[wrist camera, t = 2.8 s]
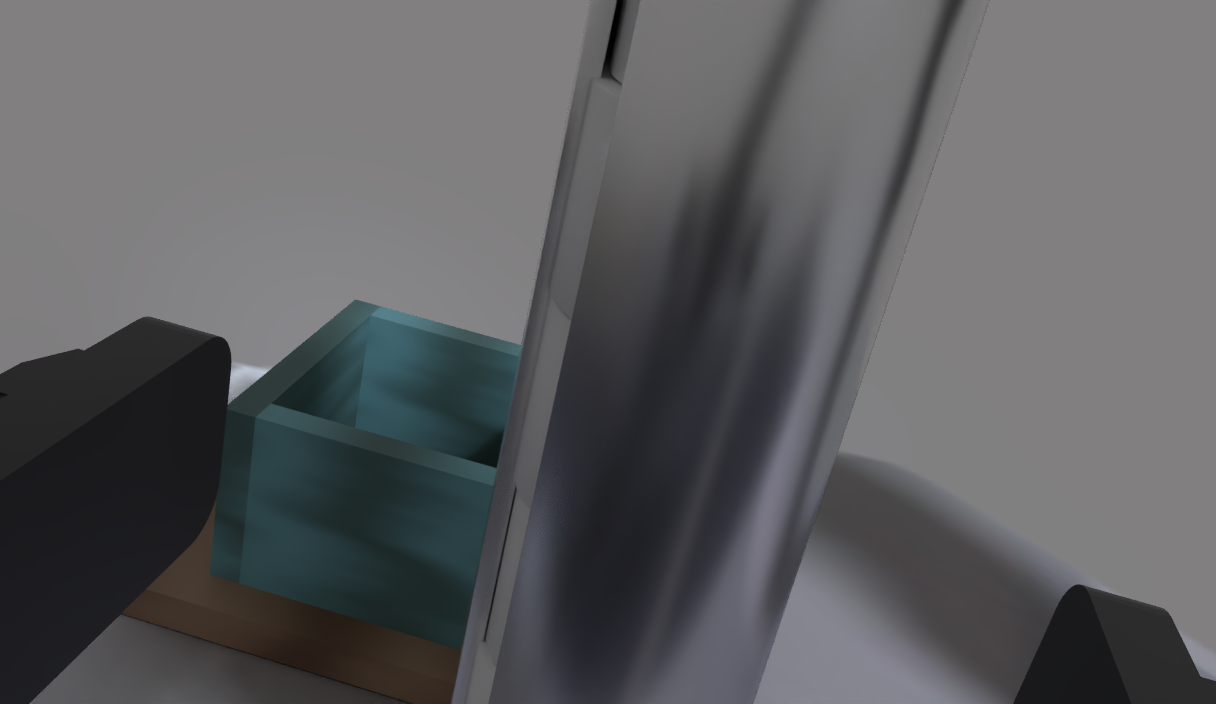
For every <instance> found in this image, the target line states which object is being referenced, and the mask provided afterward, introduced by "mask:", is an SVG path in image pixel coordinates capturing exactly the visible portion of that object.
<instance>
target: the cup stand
mask: <svg viewBox="0 0 1216 704" xmlns="http://www.w3.org/2000/svg"><path fill="white" fill-rule="evenodd" d="M520 348H521V345H518V344H514V343H511V342H507V341H503V340H500V339H496V338H492V337H489V336H485V335H482V334H478V333H475V332H471V331H467V330H463V329H460V328H456V327H453V326H449V325H445V324H442V323H438V322H435V321H431V320H427V319H424V318H420V317H417V316H413V315H409V314H406V313H402V312H399V311H395V310H391V309H387V308H384V307H380V306H377V305H373V304H370V303H366V302H362V301H359V300H354V301H353V302H352V303H351V304H349V305H348V306H347V307H346V308H345V309H344V310H342V311H341V312H340V313H339V314H337V315H336V316H335V317H334V318H333V319H332V320H330V321H329V322H328V323H326V324H325V325H324V326H323V327H322V328H320V329H319V330H318V331H317V332H316V333H314V334H313V335H312V336H311V337H310V338H308V339H307V340H306V341H305V342H303V343H302V344H301V345H300V346H299V347H297V348H296V349H295V350H294V351H293V352H291V353H290V354H289V355H288V356H287V357H285V358H284V359H283V360H282V361H281V362H279V363H278V364H277V365H276V366H274V367H273V368H272V369H271V370H270V371H268V372H267V373H266V374H265V375H264V376H262V377H261V378H260V379H259V380H257V381H256V382H255V383H254V384H253V385H251V386H250V387H249V388H248V389H247V390H245V391H244V392H243V393H242V394H240V395H239V396H238V397H237V398H236V399H234V400H233V401H232V402H231V403H230V404H228V405H227V414H226V424H225V434H224V444H223V454H222V464H221V474H220V483H219V488H218V493H217V497H216V500H215V503H214V506H213V509H212V511H211V514H210V516H209V518H208V520H207V522H206V524H205V526H204V528H203V530H202V531H201V533H200V534H199V536H198V537H197V539H196V540H195V541H194V542H193V543H192V544H191V546H190V547H189V548H188V549H187V550H186V551H184V552H183V553H182V554H181V555H180V556H179V557H178V558H177V559H176V560H175V561H174V562H173V563H172V564H171V565H170V566H169V567H168V568H167V569H166V570H165V571H164V572H163V573H162V574H161V575H160V576H159V577H158V578H157V579H156V580H155V581H154V582H153V583H152V584H151V585H150V586H149V587H148V588H147V589H146V590H145V591H144V592H143V593H142V594H141V595H140V596H139V597H137V598H136V599H135V600H134V601H133V602H132V603H131V604H130V605H129V606H128V607H127V608H126V609H125V610H124V611H123V612H122V613H121V614H124V615H127V616H131V617H134V618H137V619H140V620H144V621H147V622H150V623H153V624H156V625H160V626H163V627H166V628H169V629H173V630H176V631H179V632H182V633H186V634H189V635H192V636H195V637H199V638H202V639H205V640H208V641H212V642H215V643H218V644H221V645H224V646H228V647H231V648H234V649H237V650H241V651H244V652H247V653H250V654H254V655H257V656H260V657H263V658H267V659H270V660H273V661H276V662H280V663H283V664H286V665H289V666H293V667H296V668H299V669H302V670H305V671H309V672H312V673H315V674H318V675H322V676H325V677H328V678H331V679H335V680H338V681H341V682H344V683H348V684H351V685H354V686H357V687H361V688H364V689H367V690H370V691H373V692H377V693H380V694H383V695H386V696H390V697H393V698H396V699H399V700H403V701H406V702H409V703H412V704H450V700H451V695H452V690H453V685H454V680H455V675H456V670H457V665H458V660H459V655H460V650H461V645H462V640H463V635H464V630H465V624H466V619H467V614H468V609H469V604H470V599H471V594H472V589H473V584H474V579H475V574H476V569H477V564H478V559H479V554H480V549H481V544H482V539H483V534H484V529H485V524H486V519H487V514H488V509H489V504H490V499H491V494H492V489H493V484H494V479H495V474H496V469H497V464H498V459H499V454H500V449H501V444H502V439H503V434H504V429H505V424H506V419H507V414H508V408H509V403H510V398H511V393H512V388H513V383H514V378H515V373H516V368H517V363H518V358H519V353H520Z"/></svg>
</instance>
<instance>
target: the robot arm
mask: <svg viewBox="0 0 1216 704" xmlns="http://www.w3.org/2000/svg"><path fill="white" fill-rule="evenodd" d="M230 374H231V352H230V348H229V345H228V343H227V341H226V340H225V339H224V338H222V337H219V336H215V335H212V334H209V333H205V332H201V331H198V330H195V329H191V328H188V327H184V326H180V325H177V324H174V323H170V322H167V321H163V320H160V319H156V318H153V317H143V318H141V319H138V320H136V321H135V322H133V323H131V324H129V325H128V326H126V327H124V328H123V329H121V330H119V331H118V332H116V333H114V334H112V335H110V336H109V337H107V338H105V339H104V340H102V341H100V342H98V343H97V344H95V345H93V346H92V347H90V348H88V349H86V350H80V349H75V350H71V351H67V352H63V353H59V354H55V355H51V356H47V357H43V358H39V359H35V360H31V361H27V362H22V363H20V364H19V365H16V366H15V367H13V368H11V369H9V370H7V371H6V372H4V373H2V374H0V704H29V703H30V702H31V701H32V700H33V699H34V698H35V697H36V696H37V695H38V694H39V693H40V692H41V691H42V690H43V689H44V688H46V687H47V686H48V685H49V684H50V683H51V682H52V681H53V680H54V679H55V678H56V677H57V676H58V675H59V674H60V673H61V672H62V671H63V670H64V669H65V668H66V667H67V666H68V665H69V664H70V663H71V662H72V661H73V660H74V659H75V658H76V657H77V656H78V655H79V654H80V653H81V652H82V651H83V650H84V649H85V648H86V647H87V646H88V645H89V644H90V643H91V642H93V641H94V640H95V639H96V638H97V637H98V636H99V635H100V634H101V633H102V632H103V631H104V630H105V629H106V628H107V627H108V626H109V625H110V624H111V623H112V622H113V621H114V620H115V619H116V618H117V617H118V616H119V615H120V614H121V613H122V612H123V611H124V610H125V609H126V608H127V607H128V606H129V605H130V604H131V603H132V602H133V601H134V600H135V599H136V598H137V597H139V596H140V595H141V594H142V593H143V592H144V591H145V590H146V589H147V588H148V587H149V586H150V585H151V584H152V583H153V582H154V581H155V580H156V579H157V578H158V577H159V576H160V575H161V574H162V573H163V572H164V571H165V570H166V569H167V568H168V567H169V566H170V565H171V564H172V563H173V562H174V561H175V560H176V559H177V558H178V557H179V556H180V555H181V554H182V553H183V552H184V551H186V550H187V549H188V548H189V547H190V546H191V544H192V543H193V542H194V541H195V540H196V539H197V537H198V536H199V534H200V533H201V531H202V530H203V528H204V526H205V524H206V522H207V520H208V518H209V516H210V514H211V511H212V509H213V506H214V503H215V500H216V497H217V493H218V488H219V483H220V474H221V464H222V454H223V444H224V434H225V424H226V414H227V404H228V394H229V384H230ZM1013 704H1216V681H1213V680H1210V679H1206V678H1203V677H1200V675H1199V673H1198V671H1197V669H1196V667H1195V665H1194V662H1193V660H1192V658H1191V656H1190V654H1189V652H1188V650H1187V648H1186V646H1185V644H1184V642H1183V640H1182V638H1181V636H1180V634H1179V632H1178V630H1177V628H1176V626H1175V624H1174V622H1173V620H1172V618H1171V616H1170V615H1169V613H1168V612H1167V611H1166V610H1165V609H1163V608H1160V607H1157V606H1153V605H1150V604H1146V603H1143V602H1139V601H1136V600H1132V599H1129V598H1125V597H1122V596H1118V595H1115V594H1111V593H1108V592H1104V591H1101V590H1097V589H1094V588H1090V587H1087V586H1083V585H1075V586H1073V587H1071V588H1070V589H1069V590H1068V591H1067V592H1066V593H1065V595H1064V596H1063V597H1062V599H1061V601H1060V602H1059V604H1058V606H1057V608H1056V610H1055V613H1054V615H1053V617H1052V619H1051V621H1050V624H1049V626H1048V628H1047V630H1046V632H1045V635H1044V637H1043V639H1042V641H1041V643H1040V646H1039V648H1038V650H1037V652H1036V655H1035V657H1034V659H1033V661H1032V663H1031V666H1030V668H1029V670H1028V672H1027V674H1026V677H1025V679H1024V681H1023V683H1022V685H1021V688H1020V690H1019V692H1018V694H1017V697H1016V699H1015V701H1014V703H1013Z"/></svg>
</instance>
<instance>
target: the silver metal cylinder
mask: <svg viewBox="0 0 1216 704" xmlns="http://www.w3.org/2000/svg"><path fill="white" fill-rule="evenodd" d="M989 1H990V0H590V2H589V7H588V12H587V17H586V22H585V27H584V32H583V37H582V42H581V47H580V52H579V57H578V62H577V67H576V72H575V77H574V82H573V87H572V92H571V97H570V102H569V107H568V112H567V117H566V122H565V127H564V132H563V137H562V143H561V147H560V152H559V157H558V163H557V167H556V173H555V177H554V183H553V188H552V193H551V198H550V203H549V208H548V213H547V218H546V223H545V228H544V233H543V238H542V243H541V248H540V253H539V258H538V263H537V268H536V273H535V278H534V283H533V288H532V293H531V299H530V303H529V308H528V313H527V318H526V323H525V328H524V333H523V339H522V343H521V348H520V353H519V358H518V363H517V368H516V373H515V378H514V383H513V388H512V393H511V398H510V403H509V408H508V414H507V419H506V424H505V429H504V434H503V439H502V444H501V449H500V454H499V459H498V464H497V469H496V474H495V479H494V484H493V489H492V494H491V499H490V504H489V509H488V514H487V519H486V524H485V529H484V534H483V539H482V544H481V549H480V554H479V559H478V564H477V569H476V574H475V579H474V584H473V589H472V594H471V599H470V604H469V609H468V614H467V619H466V624H465V630H464V635H463V640H462V645H461V650H460V655H459V660H458V665H457V670H456V675H455V680H454V685H453V690H452V695H451V700H450V704H753V703H754V700H755V697H756V694H757V691H758V688H759V685H760V682H761V679H762V676H763V673H764V670H765V667H766V664H767V661H768V658H769V655H770V652H771V649H772V646H773V643H774V640H775V637H776V634H777V631H778V628H779V625H780V622H781V619H782V616H783V613H784V611H785V608H786V605H787V602H788V599H789V596H790V593H791V590H792V587H793V584H794V581H795V578H796V575H797V572H798V569H799V566H800V563H801V560H802V557H803V554H804V551H805V548H806V545H807V542H808V539H809V536H810V533H811V530H812V527H813V524H814V521H815V518H816V515H817V512H818V509H819V507H820V504H821V501H822V498H823V495H824V492H825V489H826V486H827V483H828V480H829V477H830V474H831V471H832V468H833V465H834V462H835V459H836V456H837V453H838V450H839V447H840V444H841V441H842V438H843V435H844V432H845V429H846V426H847V423H848V420H849V417H850V414H851V411H852V408H853V405H854V402H855V400H856V397H857V393H858V391H859V387H860V385H861V382H862V378H863V376H864V373H865V370H866V366H867V364H868V361H869V358H870V355H871V352H872V349H873V346H874V343H875V340H876V337H877V334H878V331H879V328H880V325H881V322H882V319H883V316H884V313H885V310H886V307H887V304H888V301H889V298H890V295H891V292H892V290H893V287H894V284H895V281H896V278H897V275H898V272H899V268H900V266H901V262H902V260H903V257H904V254H905V251H906V248H907V245H908V242H909V239H910V236H911V233H912V230H913V227H914V224H915V221H916V218H917V215H918V212H919V209H920V206H921V203H922V200H923V197H924V194H925V192H926V188H927V185H928V183H929V180H930V177H931V174H932V171H933V168H934V164H935V162H936V159H937V156H938V153H939V150H940V147H941V144H942V141H943V138H944V135H945V132H946V129H947V126H948V123H949V120H950V117H951V114H952V111H953V108H954V105H955V102H956V99H957V96H958V93H959V90H960V88H961V84H962V82H963V79H964V76H965V72H966V70H967V66H968V64H969V61H970V58H971V55H972V51H973V49H974V46H975V43H976V40H977V37H978V34H979V31H980V28H981V25H982V22H983V19H984V16H985V13H986V10H987V7H988V4H989Z"/></svg>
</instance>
